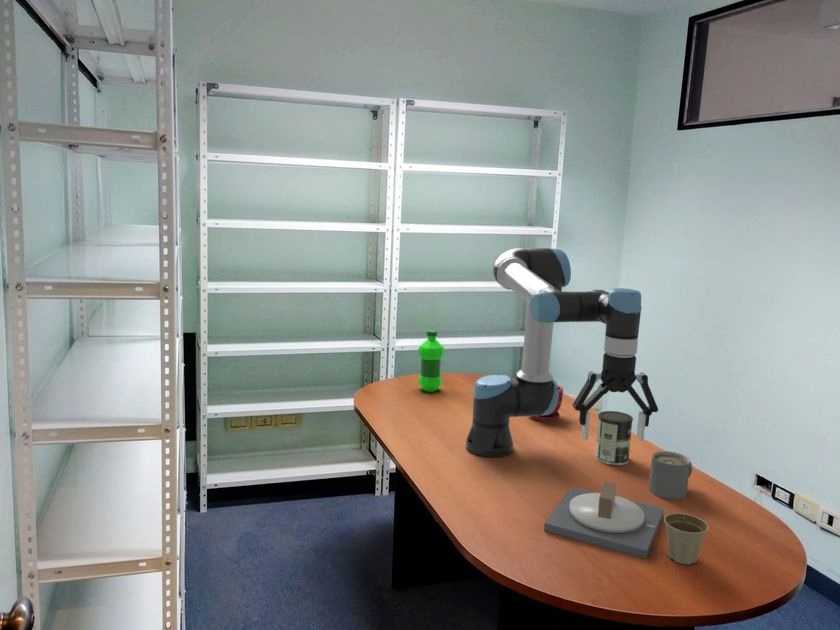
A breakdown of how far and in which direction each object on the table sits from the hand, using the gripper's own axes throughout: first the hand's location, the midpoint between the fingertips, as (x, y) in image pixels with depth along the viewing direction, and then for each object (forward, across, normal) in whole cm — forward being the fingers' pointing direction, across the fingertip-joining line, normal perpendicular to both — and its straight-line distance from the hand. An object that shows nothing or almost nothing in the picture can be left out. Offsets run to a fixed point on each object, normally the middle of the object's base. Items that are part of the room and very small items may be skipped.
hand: (612, 438), depth 160 cm
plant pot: (+23, -1, -79) cm, 82 cm away
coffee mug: (+23, -25, -19) cm, 39 cm away
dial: (+20, 0, 0) cm, 20 cm away
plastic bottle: (+23, +40, -111) cm, 120 cm away
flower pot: (+22, -13, +16) cm, 30 cm away
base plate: (+22, 0, 0) cm, 22 cm away
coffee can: (+23, -15, -41) cm, 49 cm away
